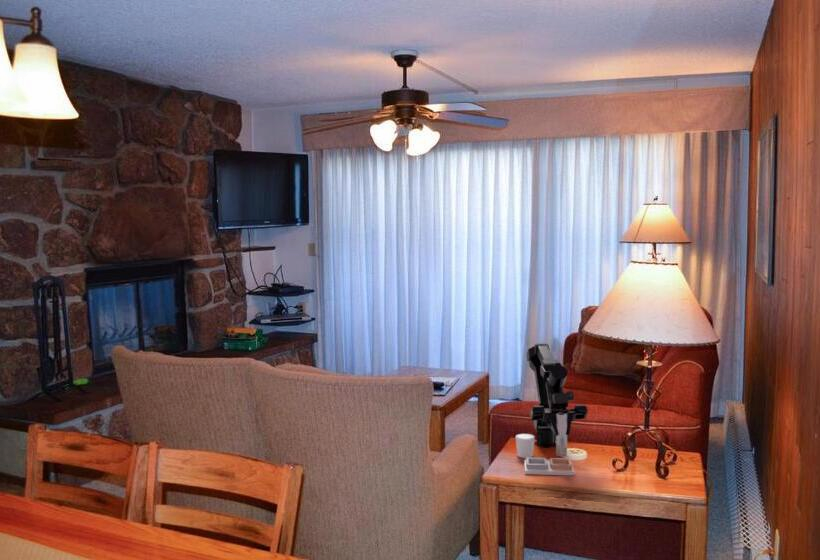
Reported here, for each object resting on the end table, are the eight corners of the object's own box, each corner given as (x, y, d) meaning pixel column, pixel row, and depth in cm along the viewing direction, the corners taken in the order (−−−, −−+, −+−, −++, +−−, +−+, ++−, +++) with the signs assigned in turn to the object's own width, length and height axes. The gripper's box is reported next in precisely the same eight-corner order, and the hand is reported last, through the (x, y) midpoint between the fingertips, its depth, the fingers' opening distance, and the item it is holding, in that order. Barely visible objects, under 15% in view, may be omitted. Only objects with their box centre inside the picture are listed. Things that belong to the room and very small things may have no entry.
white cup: (536, 458, 259) (536, 439, 259) (516, 458, 260) (516, 439, 259) (533, 451, 266) (533, 433, 266) (514, 452, 266) (514, 433, 266)
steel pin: (564, 452, 250) (564, 412, 248) (568, 455, 246) (569, 415, 245) (554, 453, 249) (554, 412, 247) (558, 456, 246) (559, 416, 244)
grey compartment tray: (524, 463, 255) (524, 455, 254) (571, 464, 253) (571, 456, 253) (525, 474, 245) (525, 466, 245) (574, 475, 243) (574, 467, 243)
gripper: (531, 383, 249) (537, 424, 239) (586, 381, 249) (595, 423, 239) (527, 399, 258) (533, 440, 248) (580, 398, 258) (588, 438, 248)
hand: (562, 435), depth 246 cm, fingers closed on steel pin, 4 cm apart
